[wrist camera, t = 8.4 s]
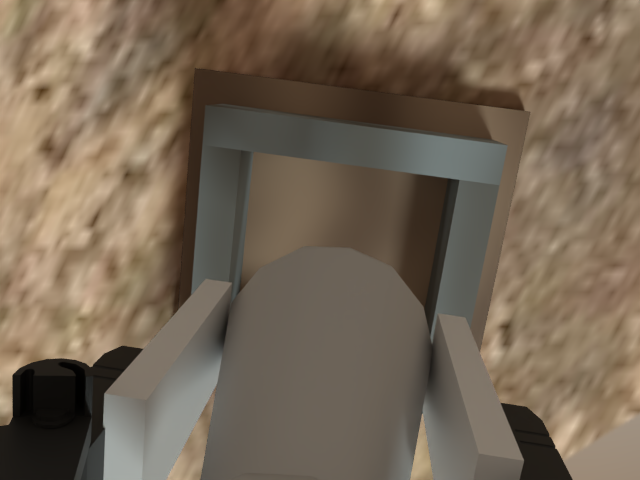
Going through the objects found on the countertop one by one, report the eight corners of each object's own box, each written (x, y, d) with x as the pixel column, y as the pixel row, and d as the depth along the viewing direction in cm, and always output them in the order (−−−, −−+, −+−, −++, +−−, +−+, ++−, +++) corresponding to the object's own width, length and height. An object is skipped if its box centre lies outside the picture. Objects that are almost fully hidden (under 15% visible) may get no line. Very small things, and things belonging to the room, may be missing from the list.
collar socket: (179, 362, 29) (153, 399, 26) (200, 68, 26) (174, 65, 22) (463, 406, 29) (477, 449, 25) (525, 111, 25) (550, 114, 22)
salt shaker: (262, 208, 18) (20, 465, 6) (444, 249, 18) (607, 609, 6) (229, 375, 20) (-20, 872, 7) (398, 416, 20) (443, 995, 7)
